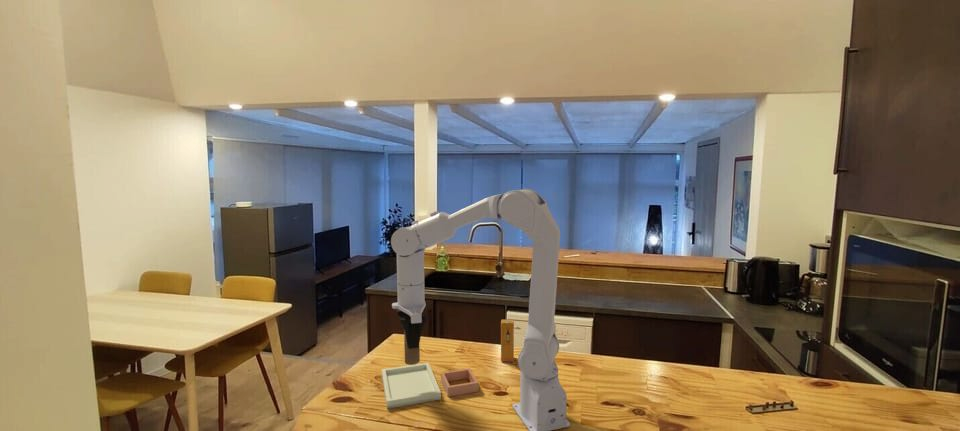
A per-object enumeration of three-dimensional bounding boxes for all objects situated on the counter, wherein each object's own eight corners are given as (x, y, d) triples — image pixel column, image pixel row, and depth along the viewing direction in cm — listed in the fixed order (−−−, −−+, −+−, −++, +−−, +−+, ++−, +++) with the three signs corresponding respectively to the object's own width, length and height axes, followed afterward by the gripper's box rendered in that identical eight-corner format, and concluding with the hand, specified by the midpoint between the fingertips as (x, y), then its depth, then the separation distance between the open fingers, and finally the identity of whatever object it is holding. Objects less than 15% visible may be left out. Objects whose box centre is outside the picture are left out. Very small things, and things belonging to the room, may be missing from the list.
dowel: (420, 363, 86) (420, 323, 85) (405, 365, 85) (405, 324, 84) (418, 357, 89) (417, 317, 88) (403, 359, 88) (403, 319, 87)
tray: (441, 399, 84) (440, 392, 84) (387, 408, 80) (386, 401, 80) (428, 368, 97) (428, 362, 97) (381, 375, 94) (381, 369, 94)
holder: (478, 391, 87) (478, 382, 87) (447, 396, 85) (447, 387, 85) (469, 376, 93) (469, 368, 93) (440, 381, 91) (440, 372, 91)
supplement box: (513, 356, 104) (514, 318, 103) (513, 362, 100) (514, 323, 99) (501, 355, 104) (501, 318, 103) (500, 362, 101) (500, 323, 100)
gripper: (388, 275, 91) (389, 333, 93) (395, 293, 78) (396, 361, 79) (419, 273, 93) (420, 330, 95) (431, 290, 80) (432, 356, 81)
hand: (411, 344), depth 87 cm, fingers closed on dowel, 3 cm apart
